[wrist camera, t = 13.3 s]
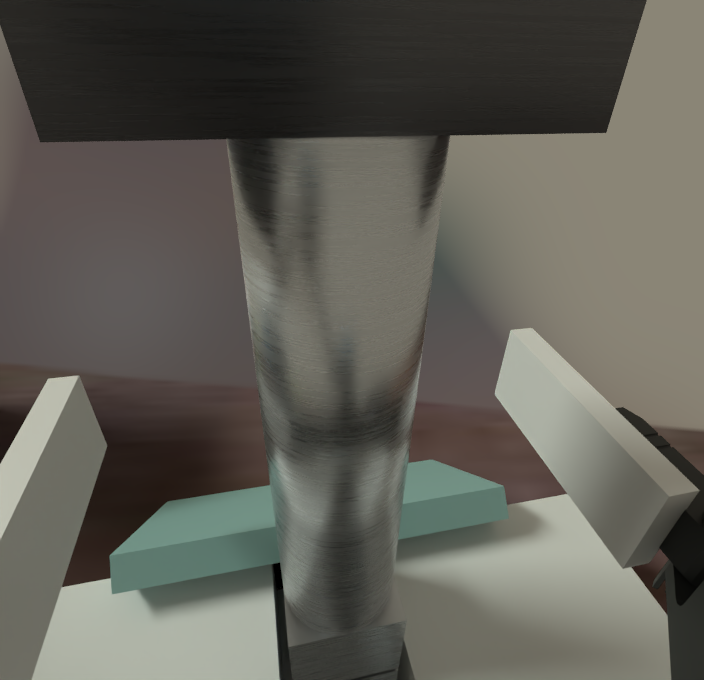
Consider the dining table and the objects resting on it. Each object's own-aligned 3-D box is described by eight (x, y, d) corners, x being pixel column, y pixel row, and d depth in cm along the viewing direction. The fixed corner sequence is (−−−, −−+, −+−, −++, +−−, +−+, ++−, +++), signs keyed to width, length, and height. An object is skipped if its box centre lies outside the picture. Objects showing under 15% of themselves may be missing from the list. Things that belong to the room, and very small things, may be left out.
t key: (239, 741, 14) (-78, -133, 3) (239, 633, 17) (61, -56, 6) (445, 687, 16) (695, -70, 5) (415, 595, 18) (531, -30, 7)
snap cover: (111, 594, 14) (109, 555, 14) (169, 526, 22) (167, 501, 22) (508, 518, 17) (504, 486, 17) (434, 481, 25) (431, 459, 25)
